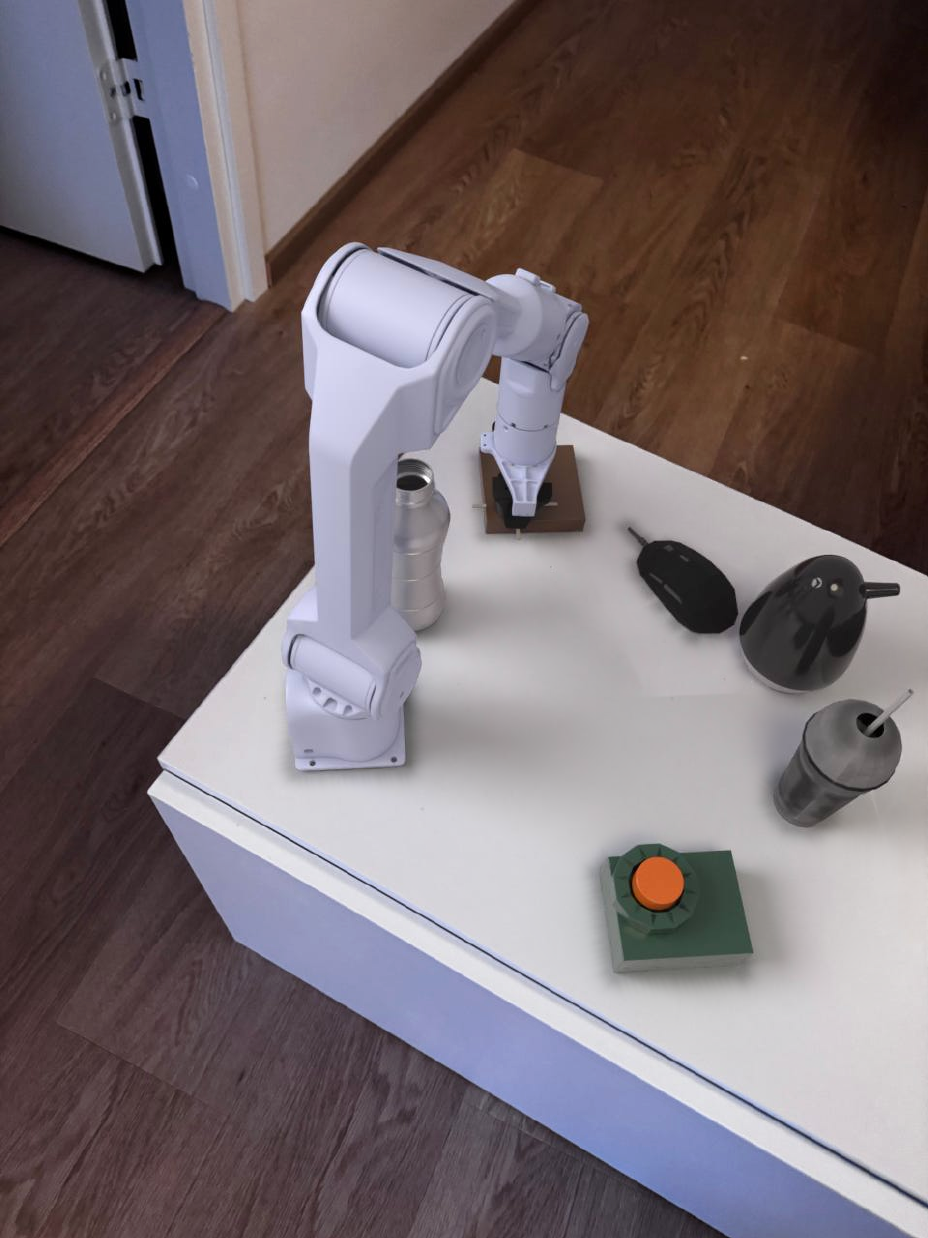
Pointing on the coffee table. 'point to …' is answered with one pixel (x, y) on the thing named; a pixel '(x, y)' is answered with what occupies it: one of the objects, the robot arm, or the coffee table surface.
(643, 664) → the coffee table surface
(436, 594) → the metal bottle
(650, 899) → the button
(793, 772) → the beverage cup
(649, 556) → the gaming mouse
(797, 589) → the black bird figure
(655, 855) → the button box
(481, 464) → the control panel
